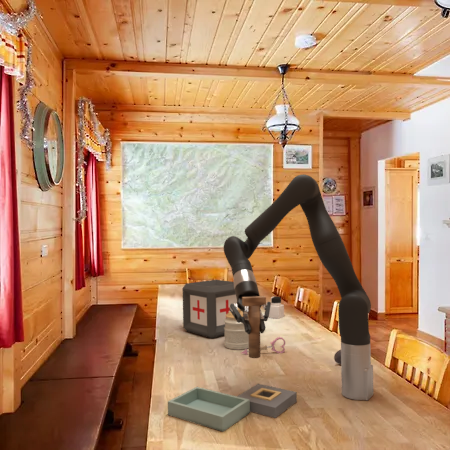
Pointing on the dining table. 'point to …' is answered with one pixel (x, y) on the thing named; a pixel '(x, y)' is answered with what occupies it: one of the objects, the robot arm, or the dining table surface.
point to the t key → (254, 322)
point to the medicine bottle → (276, 308)
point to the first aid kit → (207, 306)
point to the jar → (235, 333)
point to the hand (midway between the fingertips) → (256, 332)
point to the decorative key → (269, 347)
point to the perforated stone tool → (337, 357)
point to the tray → (209, 408)
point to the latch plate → (269, 399)
